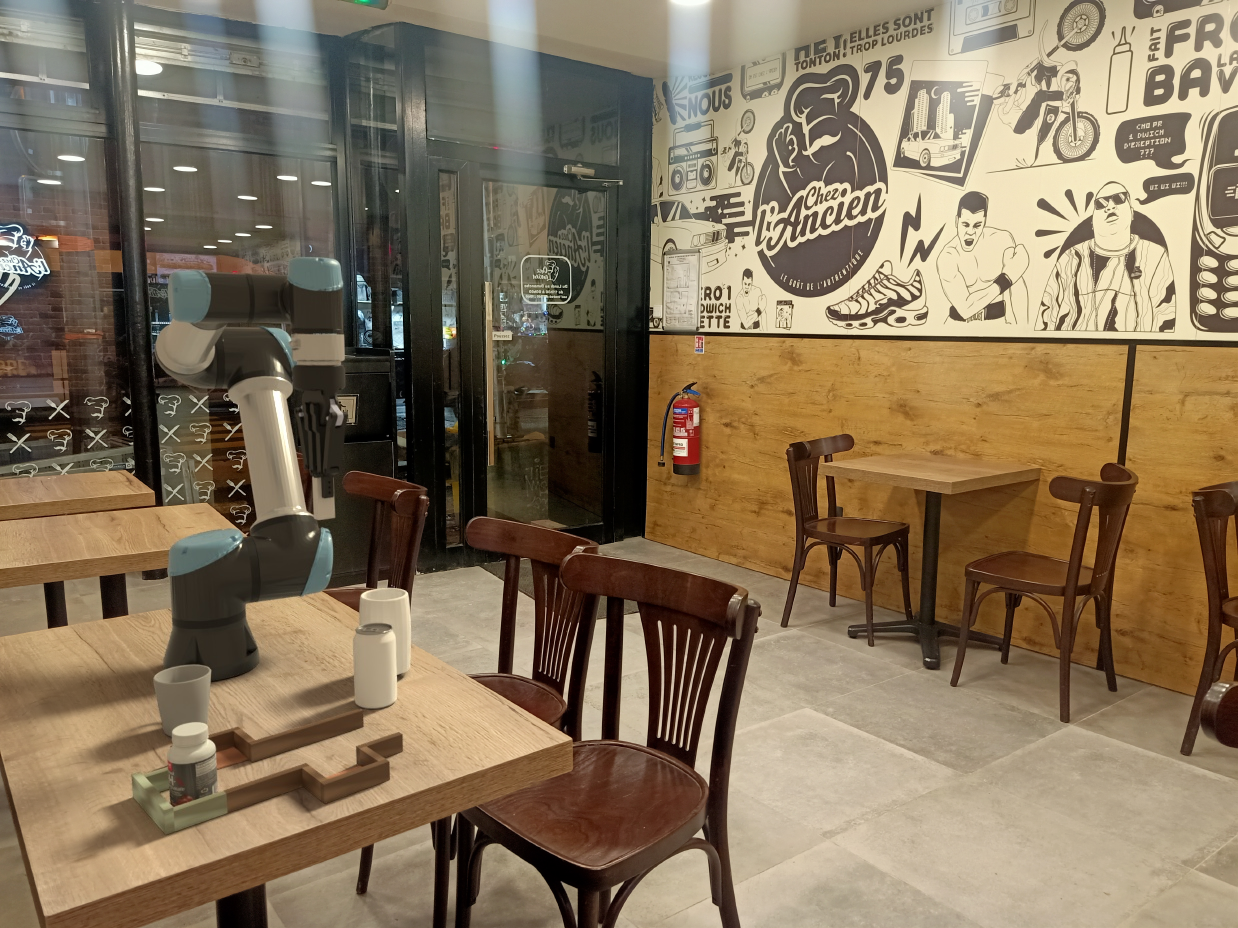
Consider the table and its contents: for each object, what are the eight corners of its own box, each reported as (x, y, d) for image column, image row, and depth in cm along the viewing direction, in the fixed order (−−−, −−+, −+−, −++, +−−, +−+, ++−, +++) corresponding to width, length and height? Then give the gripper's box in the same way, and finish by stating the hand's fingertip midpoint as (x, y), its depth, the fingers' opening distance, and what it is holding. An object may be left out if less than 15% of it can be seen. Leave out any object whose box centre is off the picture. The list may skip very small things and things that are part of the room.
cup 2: (421, 669, 156) (419, 590, 154) (394, 687, 149) (392, 603, 147) (379, 663, 159) (376, 585, 157) (350, 680, 151) (347, 598, 149)
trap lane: (118, 779, 117) (116, 757, 117) (340, 712, 138) (340, 693, 138) (184, 856, 100) (182, 830, 100) (426, 765, 121) (426, 744, 121)
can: (386, 711, 139) (383, 636, 137) (347, 708, 140) (344, 633, 138) (404, 695, 145) (402, 623, 143) (367, 692, 146) (364, 620, 145)
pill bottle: (160, 810, 110) (154, 733, 108) (195, 789, 115) (190, 716, 113) (194, 818, 108) (189, 741, 106) (228, 797, 113) (224, 723, 111)
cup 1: (158, 745, 127) (154, 687, 126) (154, 719, 136) (150, 664, 134) (217, 733, 131) (214, 677, 130) (209, 709, 139) (206, 656, 138)
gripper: (275, 362, 137) (282, 515, 141) (314, 365, 128) (321, 528, 131) (322, 362, 143) (327, 509, 146) (363, 364, 133) (368, 521, 137)
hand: (324, 518), depth 139 cm, fingers closed
